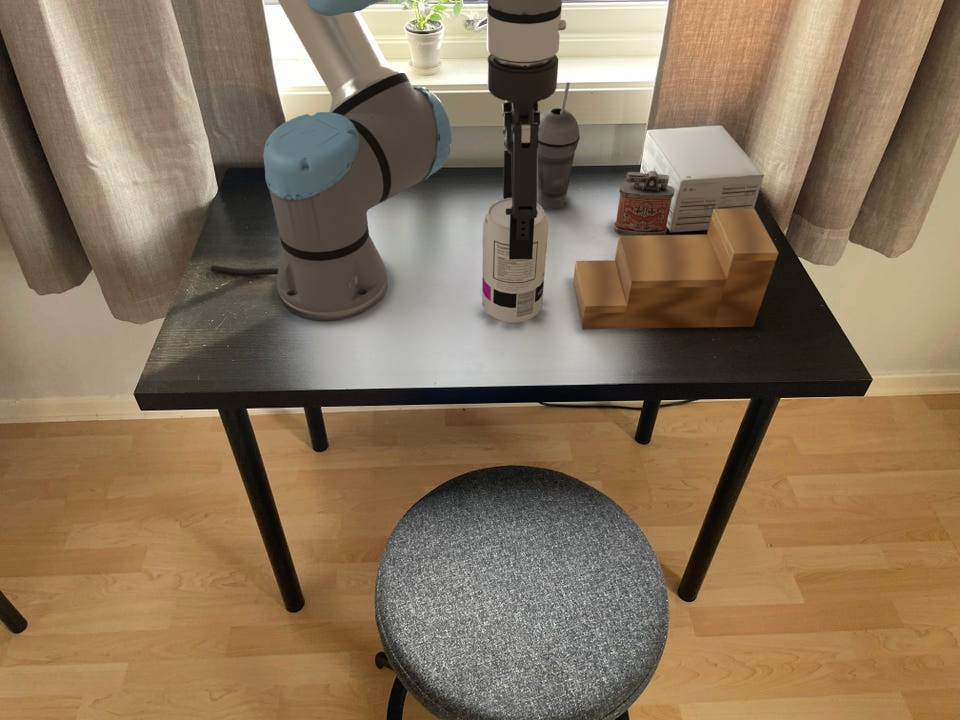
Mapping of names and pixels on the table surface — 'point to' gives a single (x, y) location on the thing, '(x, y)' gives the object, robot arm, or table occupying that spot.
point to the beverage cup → (555, 154)
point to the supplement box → (701, 173)
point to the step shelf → (680, 278)
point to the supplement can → (512, 267)
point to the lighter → (644, 204)
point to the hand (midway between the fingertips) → (516, 226)
